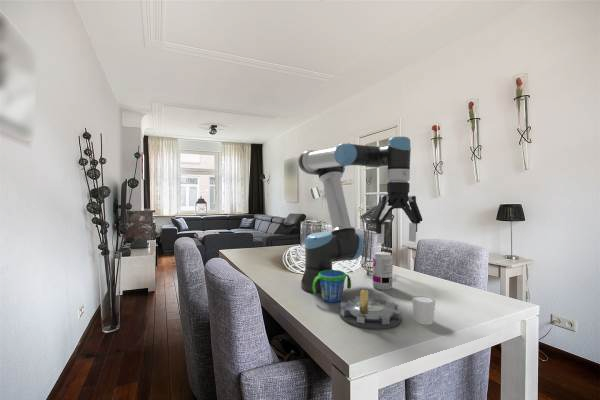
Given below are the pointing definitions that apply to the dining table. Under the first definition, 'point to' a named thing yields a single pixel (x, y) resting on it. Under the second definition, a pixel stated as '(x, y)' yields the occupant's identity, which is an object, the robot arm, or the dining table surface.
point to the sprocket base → (370, 323)
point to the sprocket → (370, 309)
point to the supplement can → (382, 270)
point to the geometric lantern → (371, 236)
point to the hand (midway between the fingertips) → (396, 242)
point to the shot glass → (423, 310)
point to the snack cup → (332, 284)
